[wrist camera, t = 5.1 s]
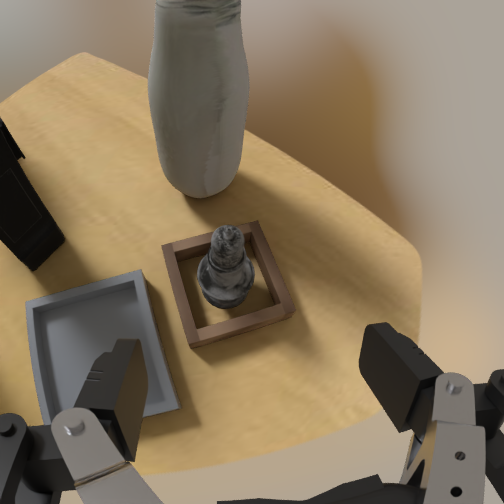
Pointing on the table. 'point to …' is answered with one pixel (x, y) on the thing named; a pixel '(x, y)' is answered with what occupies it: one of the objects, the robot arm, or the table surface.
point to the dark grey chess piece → (226, 269)
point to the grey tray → (94, 341)
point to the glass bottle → (198, 93)
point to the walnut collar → (239, 324)
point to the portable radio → (23, 210)
